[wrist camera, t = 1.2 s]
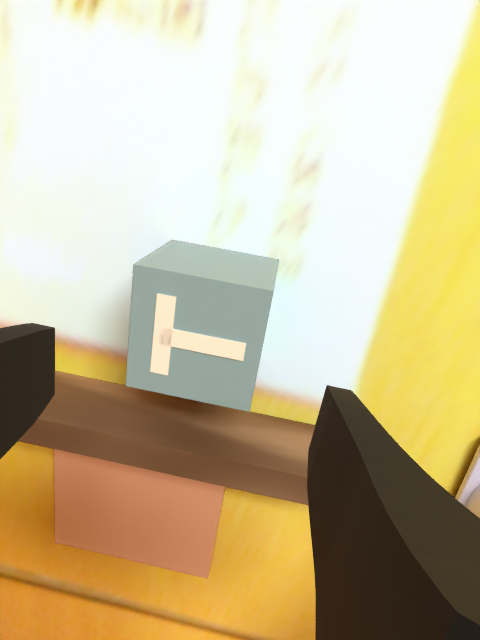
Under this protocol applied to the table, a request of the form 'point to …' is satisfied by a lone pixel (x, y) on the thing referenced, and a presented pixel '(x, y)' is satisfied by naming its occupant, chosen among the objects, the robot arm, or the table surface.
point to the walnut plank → (176, 437)
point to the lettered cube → (199, 322)
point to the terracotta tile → (136, 513)
